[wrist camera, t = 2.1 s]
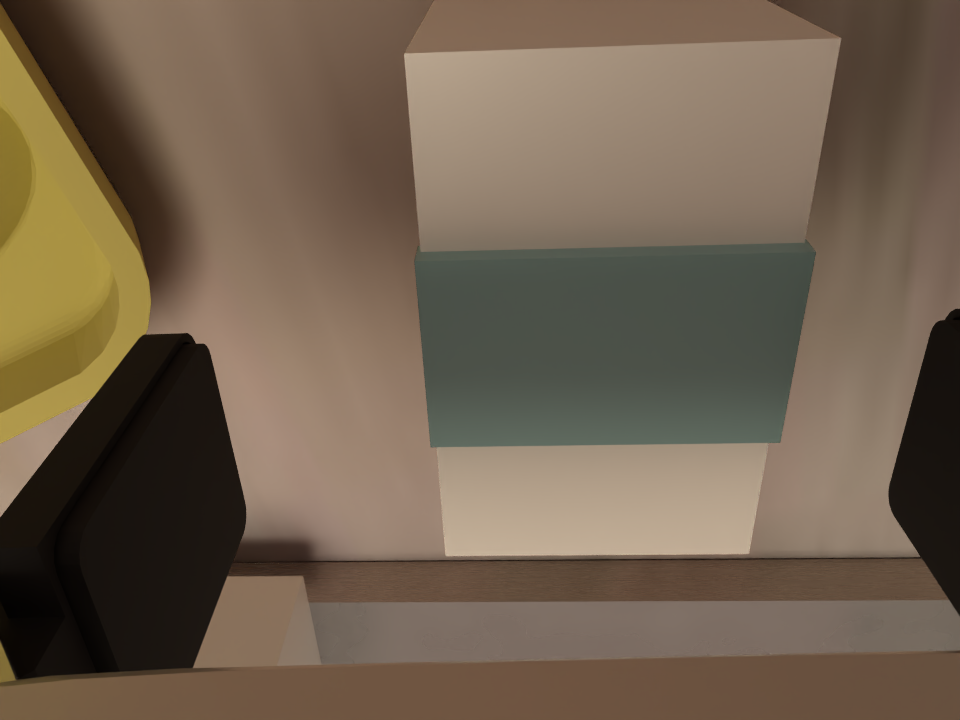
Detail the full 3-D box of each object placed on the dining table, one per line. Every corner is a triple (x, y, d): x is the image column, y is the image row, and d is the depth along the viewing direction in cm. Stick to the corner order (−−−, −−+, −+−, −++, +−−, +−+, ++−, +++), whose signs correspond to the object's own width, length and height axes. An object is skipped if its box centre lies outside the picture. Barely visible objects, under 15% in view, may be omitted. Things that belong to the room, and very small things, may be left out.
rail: (1189, 556, 22) (1231, 598, 21) (1048, 808, 28) (1074, 853, 27) (115, 563, 24) (92, 603, 22) (203, 802, 30) (189, 844, 28)
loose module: (713, -29, 15) (856, 43, 9) (676, 341, 19) (756, 567, 13) (441, -18, 15) (397, 59, 9) (462, 346, 20) (441, 569, 13)
